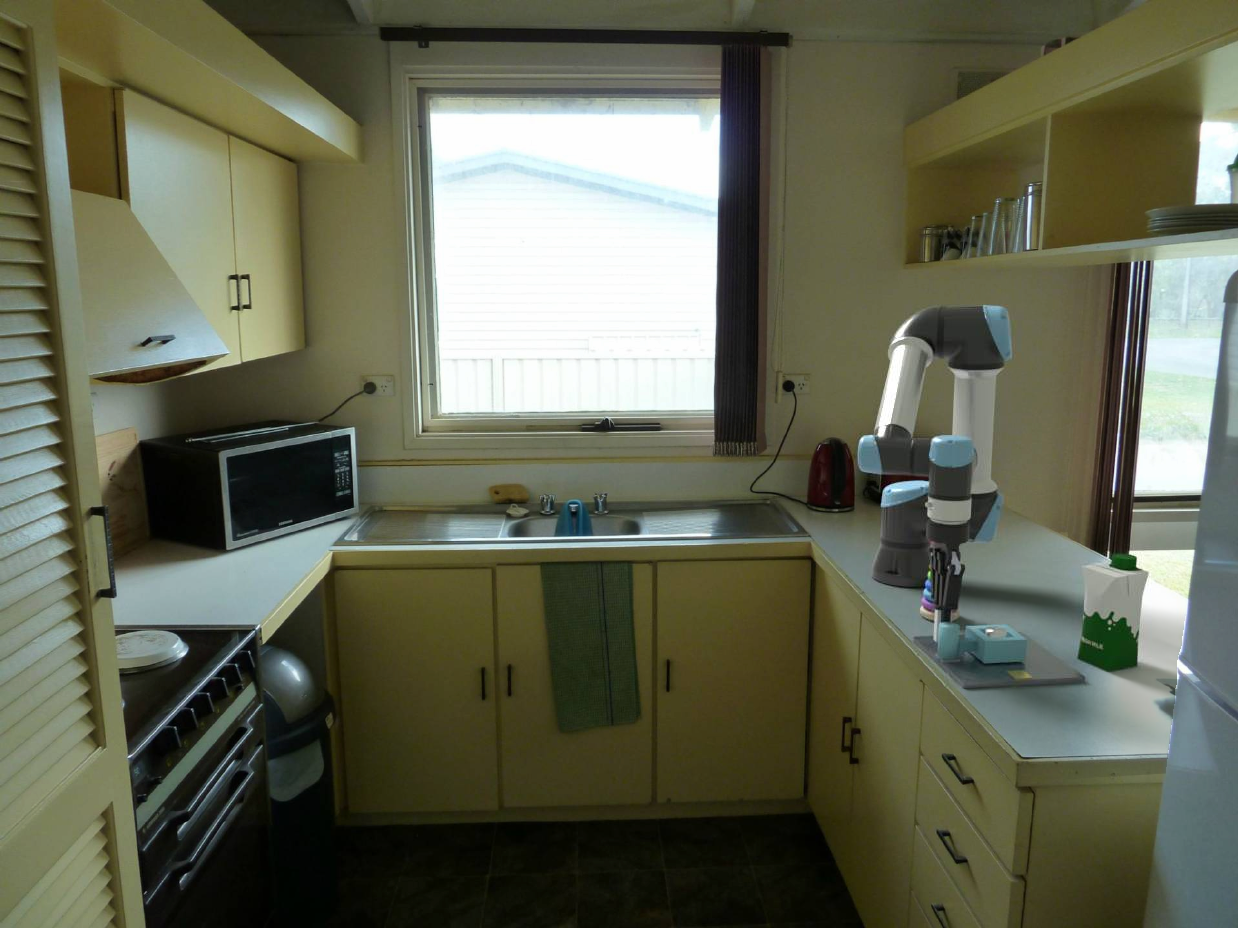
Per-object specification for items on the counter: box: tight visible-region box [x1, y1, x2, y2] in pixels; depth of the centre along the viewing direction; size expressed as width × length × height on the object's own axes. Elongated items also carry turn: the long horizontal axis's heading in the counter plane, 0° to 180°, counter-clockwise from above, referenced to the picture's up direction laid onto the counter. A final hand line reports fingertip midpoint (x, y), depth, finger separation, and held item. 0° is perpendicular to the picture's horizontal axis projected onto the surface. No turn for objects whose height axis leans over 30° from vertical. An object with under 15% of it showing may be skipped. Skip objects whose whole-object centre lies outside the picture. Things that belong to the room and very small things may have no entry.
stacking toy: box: [919, 541, 960, 622], centre depth 192 cm, size 8×8×19 cm
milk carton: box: [1076, 552, 1150, 673], centre depth 167 cm, size 9×9×20 cm
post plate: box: [912, 627, 1086, 689], centre depth 170 cm, size 22×22×6 cm
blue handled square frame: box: [937, 621, 1027, 663], centre depth 169 cm, size 8×15×6 cm, turn 95°
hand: (941, 640), depth 173 cm, fingers closed
